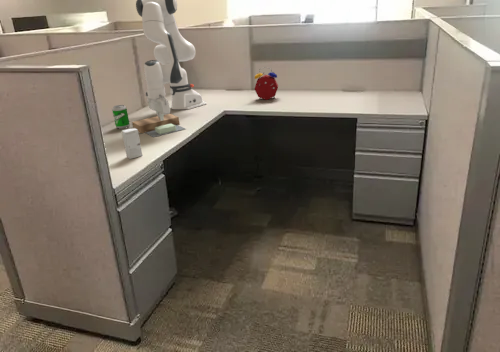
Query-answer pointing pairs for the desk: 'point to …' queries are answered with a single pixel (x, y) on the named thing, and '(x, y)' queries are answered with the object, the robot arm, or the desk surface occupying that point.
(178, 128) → the mat
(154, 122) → the brown wooden flat block
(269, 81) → the alarm clock
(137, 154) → the skincare box
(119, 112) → the soda can
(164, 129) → the mint green box
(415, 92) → the desk surface
